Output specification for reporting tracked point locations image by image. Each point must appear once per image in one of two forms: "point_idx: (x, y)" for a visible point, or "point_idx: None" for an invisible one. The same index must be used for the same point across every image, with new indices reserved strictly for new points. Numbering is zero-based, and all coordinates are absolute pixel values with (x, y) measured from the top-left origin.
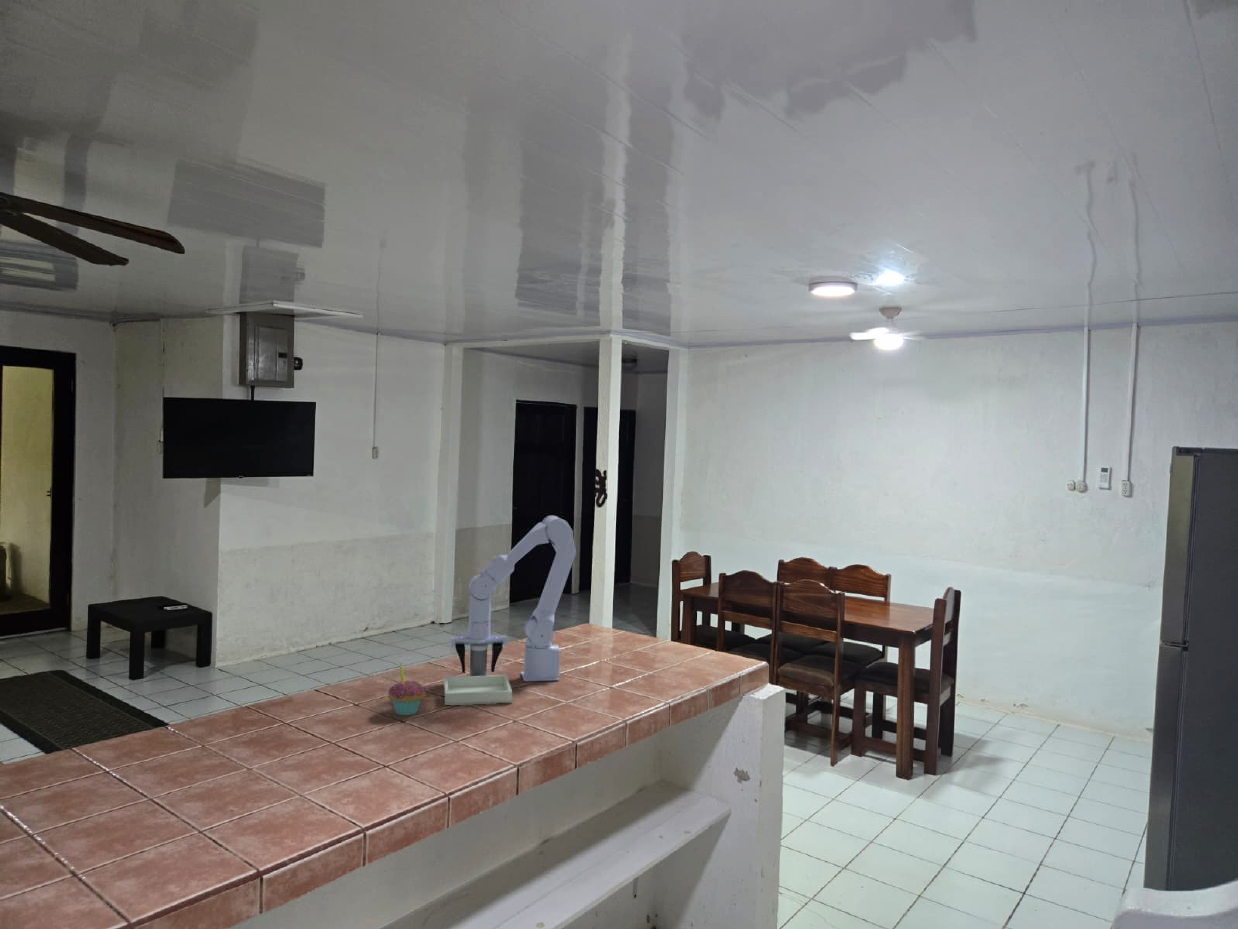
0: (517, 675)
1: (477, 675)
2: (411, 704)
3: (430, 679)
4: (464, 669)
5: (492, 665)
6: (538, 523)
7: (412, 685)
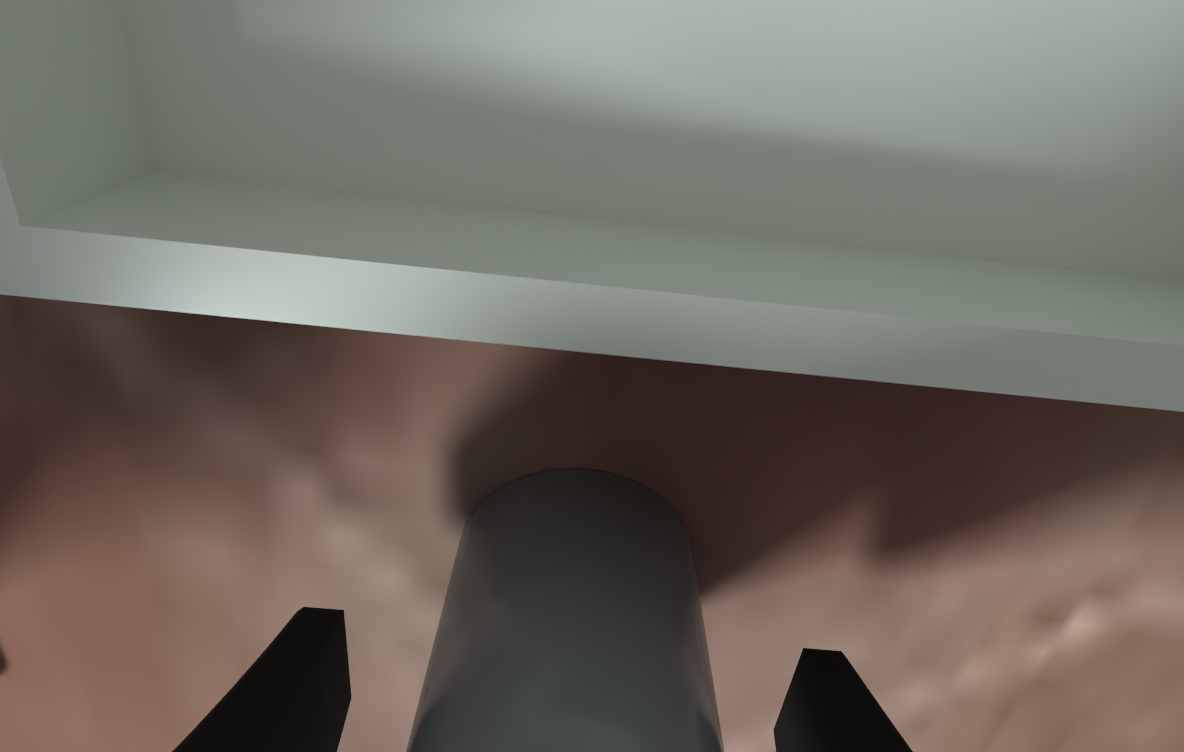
0: (29, 642)
1: (603, 552)
2: None
3: (1144, 693)
4: (836, 695)
5: (282, 705)
6: None
7: None
